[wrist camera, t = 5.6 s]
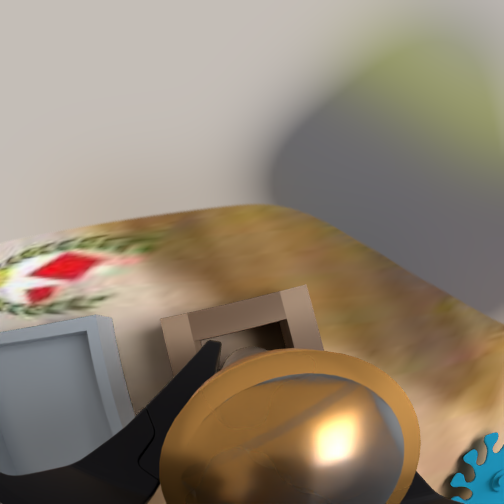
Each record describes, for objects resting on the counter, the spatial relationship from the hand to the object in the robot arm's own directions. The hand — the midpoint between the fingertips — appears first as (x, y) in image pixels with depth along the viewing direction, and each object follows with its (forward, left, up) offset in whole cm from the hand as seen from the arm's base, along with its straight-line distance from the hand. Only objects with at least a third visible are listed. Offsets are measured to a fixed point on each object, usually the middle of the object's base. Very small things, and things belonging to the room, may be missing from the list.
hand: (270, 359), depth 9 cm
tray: (-3, +16, -9) cm, 18 cm away
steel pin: (-1, +1, -7) cm, 7 cm away
